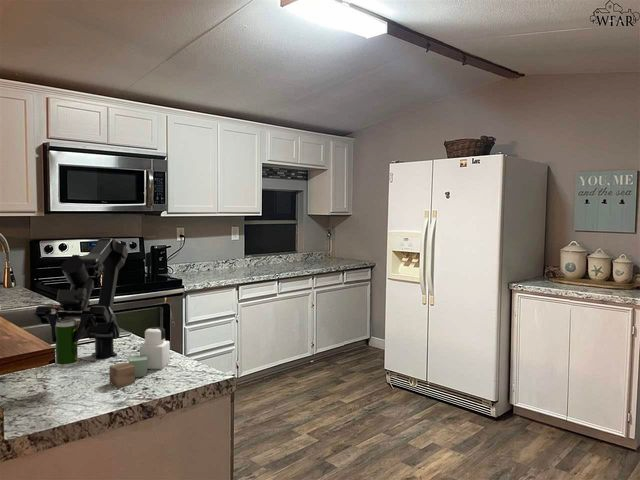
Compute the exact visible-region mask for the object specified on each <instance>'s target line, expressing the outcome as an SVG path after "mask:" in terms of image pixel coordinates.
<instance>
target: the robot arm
mask: <svg viewBox="0 0 640 480" xmlns="http://www.w3.org/2000/svg"><path fill="white" fill-rule="evenodd" d="M128 256H129V255H128V248H127V247H126V246H125V244H123V243H121V242H119V241H117V240H116V239H115V238H110V237H103V238H102V237H100V238H99V239H97V243H96V245H95V246H93V248H92V249H91V250H90V252H89V253H87V254H84V255H80V254H72V256H71V257H69V258H67V259H65V260H64V261H63V262H62V263H61V265H60V268H61V270H62V273H63V275H64V277H65V279H66V281H67V282H68V284H71V285H70V289H58V290H57V295H56V302H57V303H60V304H59V306H60V309H62V310H58V309H55V308H54V307H53V306H52V305H38V306H37V307H36V308H35V310H34V312H33V314H34V316H35V318H36V319H37V320H38V322H39V323H40V324H41V325H49V326H50V327H51V328H50V329H51V330H50V331H51V340H52V343H55V344H56V342H55V325H56V321H58V320H62V319H80V322H79V325H78V326H77V332H76V335H75V339H74V341H75V342H77V343H78V341H80V340H81V338H83V336H85V334H86V333H87V335H88V339H89V340H91V339H94V352H92V353H91V355H92V356H93V357H94V358H95V359H96V360H97V359H98V360H99V359H104V358H105V359H106V358H111V357H117V356H118V354H117V353H116V351H114V345H115V344H114V343H115V342H114V339H117V338H120V333H121V332H120V330H121V329H120V326H119V325H118V323H117V317H116V315H115V313H114V311H113V308H114V300H115V294H116V288H117V282H118V275H119V271H120V270H121V268H123V267H124V265H125V262H126V259H127V257H128ZM101 274H102V279H101V284H100V285H101V286H100V291H99V296H98V303H97V305H92V306H90V304H91V301H90V298H91V294H92V292H93V291H94V289H95V285H94V283H95V280H94V279H93V278H98V277H100V276H101ZM88 306H90V307H89V310H87V308H88Z"/></svg>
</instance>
